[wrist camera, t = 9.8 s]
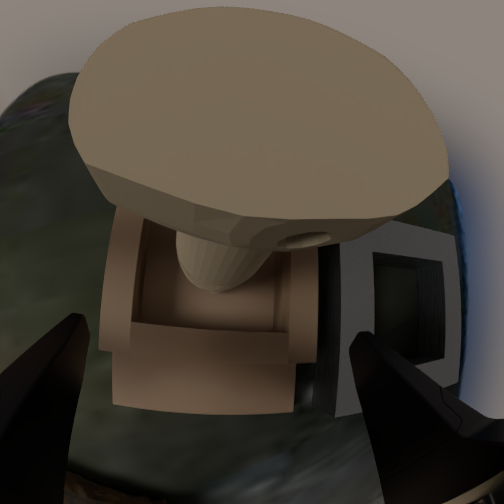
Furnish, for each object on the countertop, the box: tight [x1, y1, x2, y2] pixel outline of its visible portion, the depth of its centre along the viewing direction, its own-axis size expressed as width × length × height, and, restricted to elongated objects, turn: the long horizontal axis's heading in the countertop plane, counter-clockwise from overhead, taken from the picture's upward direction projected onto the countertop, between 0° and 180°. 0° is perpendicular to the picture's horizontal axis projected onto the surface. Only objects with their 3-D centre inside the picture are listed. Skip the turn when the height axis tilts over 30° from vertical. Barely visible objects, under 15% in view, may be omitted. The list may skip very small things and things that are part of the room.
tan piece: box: [99, 206, 318, 415], centre depth 17 cm, size 20×12×4 cm, turn 177°
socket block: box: [312, 220, 461, 417], centre depth 20 cm, size 14×14×4 cm
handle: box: [69, 7, 449, 293], centre depth 11 cm, size 5×6×15 cm
